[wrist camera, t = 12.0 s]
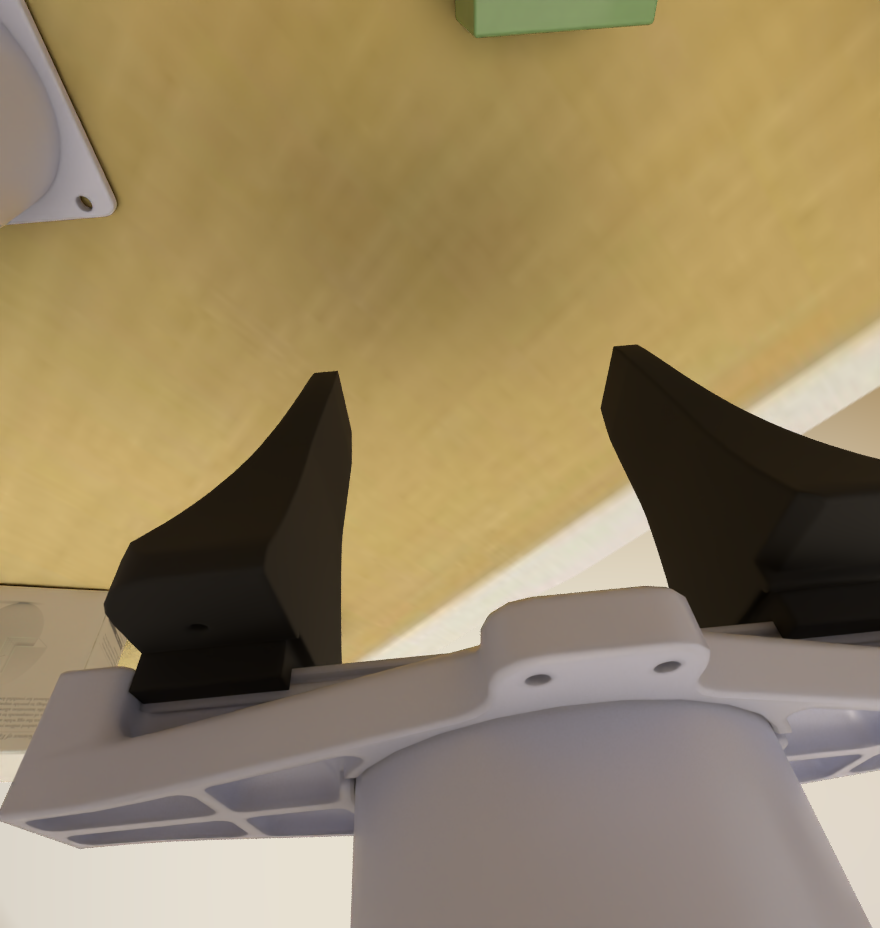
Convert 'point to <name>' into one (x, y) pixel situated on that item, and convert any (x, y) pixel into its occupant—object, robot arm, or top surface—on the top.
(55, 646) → the cosmetics box
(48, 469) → the top surface
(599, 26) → the block
